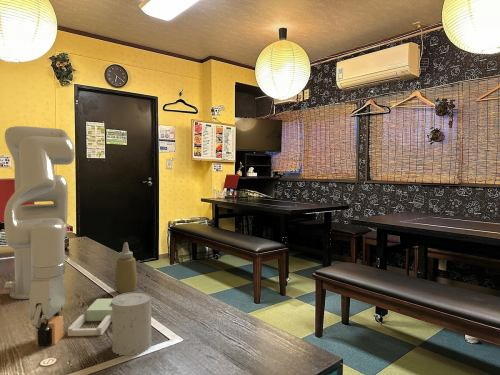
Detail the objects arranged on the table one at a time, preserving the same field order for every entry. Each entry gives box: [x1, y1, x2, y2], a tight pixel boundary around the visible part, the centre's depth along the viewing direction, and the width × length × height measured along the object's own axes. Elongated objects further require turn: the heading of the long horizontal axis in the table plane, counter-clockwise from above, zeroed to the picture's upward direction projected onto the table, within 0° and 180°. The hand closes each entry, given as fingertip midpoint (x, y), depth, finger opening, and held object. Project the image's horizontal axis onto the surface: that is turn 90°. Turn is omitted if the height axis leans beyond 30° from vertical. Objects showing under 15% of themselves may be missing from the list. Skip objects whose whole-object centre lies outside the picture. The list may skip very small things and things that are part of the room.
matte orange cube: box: [35, 315, 64, 346], centre depth 90 cm, size 5×5×6 cm
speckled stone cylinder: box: [111, 291, 153, 356], centre depth 88 cm, size 10×10×12 cm
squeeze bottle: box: [114, 242, 139, 295], centre depth 126 cm, size 8×8×18 cm
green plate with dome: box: [67, 298, 113, 337], centre depth 102 cm, size 15×18×4 cm
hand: (50, 338), depth 90 cm, fingers closed on matte orange cube, 4 cm apart
